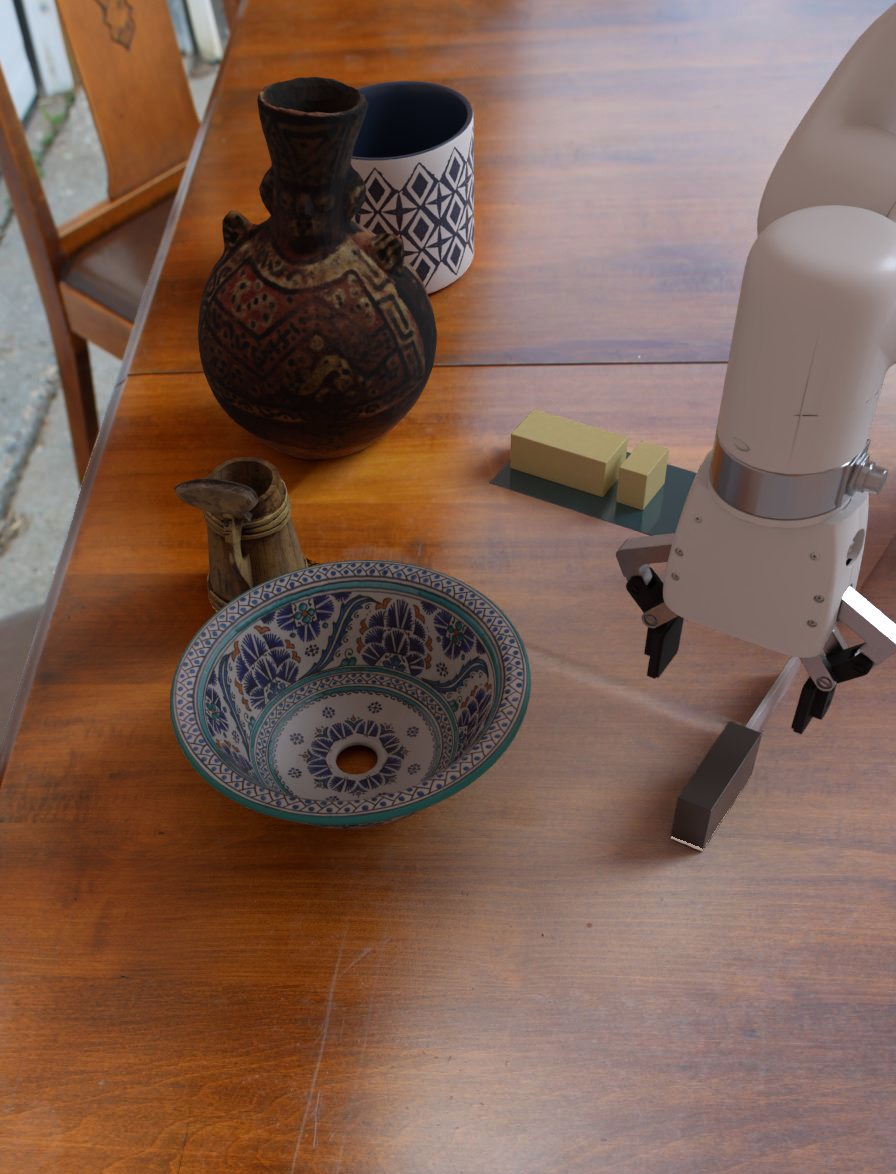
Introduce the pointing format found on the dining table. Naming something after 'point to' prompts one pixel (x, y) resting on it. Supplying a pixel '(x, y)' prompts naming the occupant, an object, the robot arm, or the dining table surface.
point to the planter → (419, 175)
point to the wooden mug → (244, 526)
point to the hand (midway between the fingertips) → (732, 691)
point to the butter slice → (642, 475)
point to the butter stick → (568, 452)
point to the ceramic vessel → (314, 292)
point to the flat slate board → (609, 499)
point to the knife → (726, 768)
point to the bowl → (350, 692)
